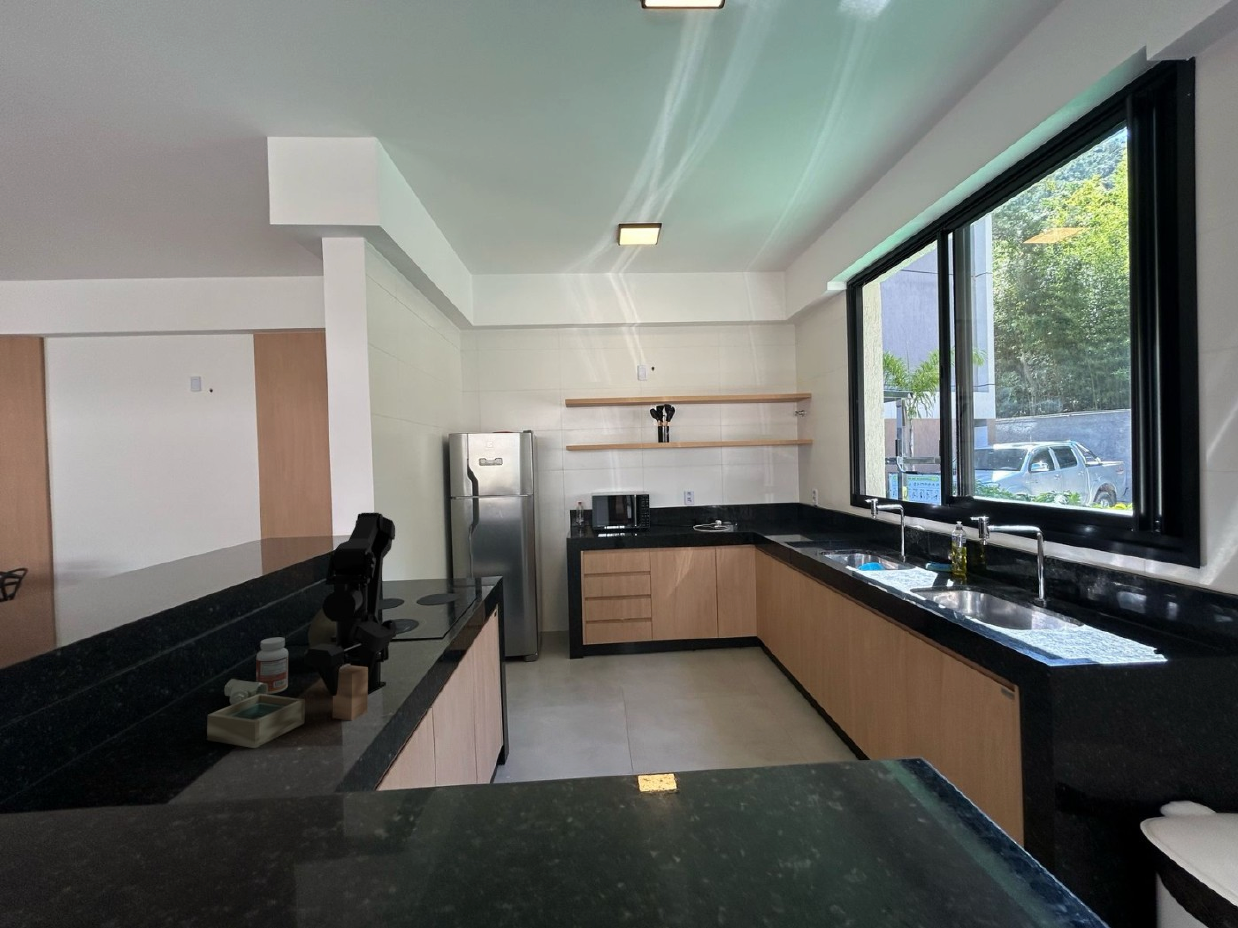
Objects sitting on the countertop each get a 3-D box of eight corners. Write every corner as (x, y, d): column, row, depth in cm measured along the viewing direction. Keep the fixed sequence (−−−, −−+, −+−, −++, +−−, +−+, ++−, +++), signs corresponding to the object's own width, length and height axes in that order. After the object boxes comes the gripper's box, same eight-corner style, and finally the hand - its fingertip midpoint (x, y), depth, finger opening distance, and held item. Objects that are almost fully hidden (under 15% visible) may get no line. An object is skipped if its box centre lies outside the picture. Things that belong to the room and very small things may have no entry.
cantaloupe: (293, 667, 147) (294, 606, 147) (339, 651, 160) (340, 596, 160) (335, 674, 142) (336, 612, 142) (380, 658, 155) (380, 600, 155)
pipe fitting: (241, 711, 122) (268, 696, 128) (240, 692, 121) (267, 679, 128) (210, 707, 124) (238, 692, 130) (209, 688, 123) (237, 675, 130)
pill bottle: (262, 685, 134) (263, 636, 135) (292, 684, 135) (292, 635, 136) (250, 695, 128) (251, 644, 128) (281, 694, 129) (282, 643, 129)
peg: (348, 708, 122) (349, 664, 122) (367, 711, 120) (367, 667, 120) (332, 717, 117) (333, 671, 117) (351, 720, 116) (352, 674, 116)
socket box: (259, 716, 118) (259, 693, 118) (304, 722, 115) (304, 699, 115) (207, 739, 107) (207, 714, 107) (255, 748, 104) (255, 722, 104)
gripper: (352, 623, 108) (350, 709, 108) (414, 602, 126) (413, 676, 126) (302, 619, 111) (301, 702, 111) (370, 598, 129) (369, 670, 129)
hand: (350, 687), depth 119 cm, fingers open, 9 cm apart
